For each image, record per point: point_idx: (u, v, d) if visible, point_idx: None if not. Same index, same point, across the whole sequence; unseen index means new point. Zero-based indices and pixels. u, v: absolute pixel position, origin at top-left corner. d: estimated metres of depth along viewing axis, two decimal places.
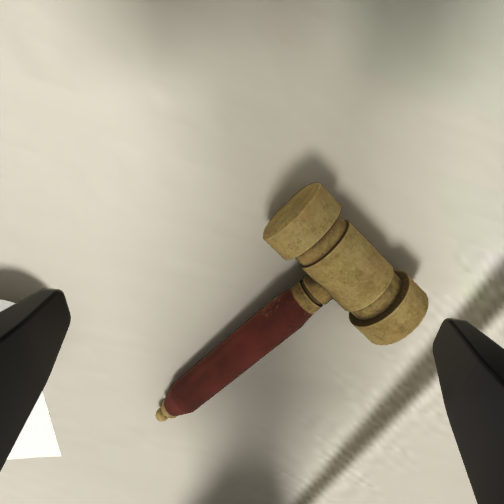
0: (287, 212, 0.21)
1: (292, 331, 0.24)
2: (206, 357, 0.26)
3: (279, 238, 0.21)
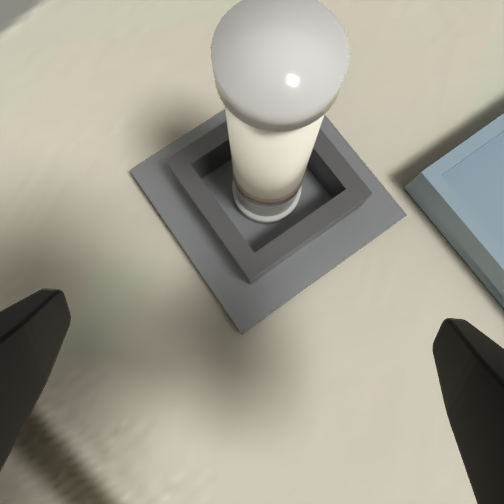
0: None
1: None
2: None
3: None
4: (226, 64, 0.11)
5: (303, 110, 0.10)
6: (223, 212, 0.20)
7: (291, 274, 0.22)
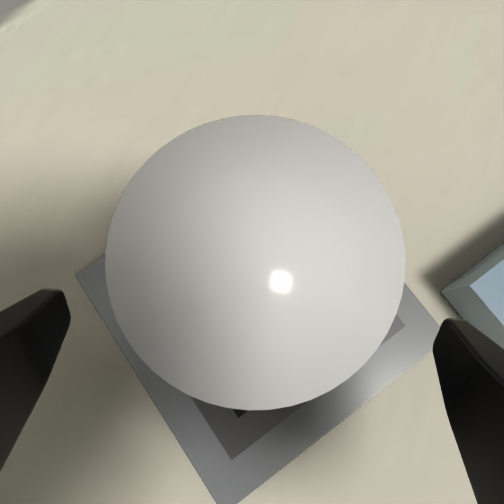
0: None
1: None
2: None
3: None
4: (137, 285, 0.05)
5: (306, 400, 0.05)
6: None
7: (291, 424, 0.16)
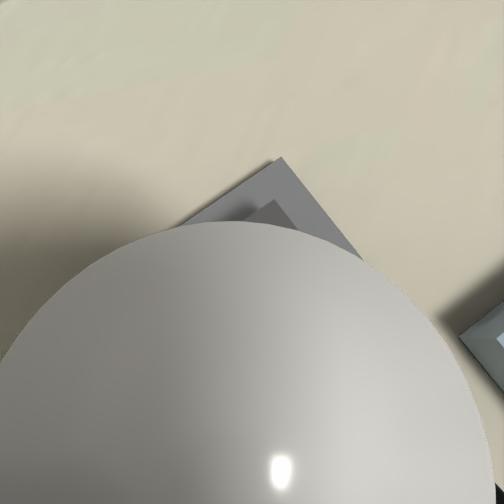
0: None
1: None
2: None
3: None
4: None
5: None
6: None
7: None
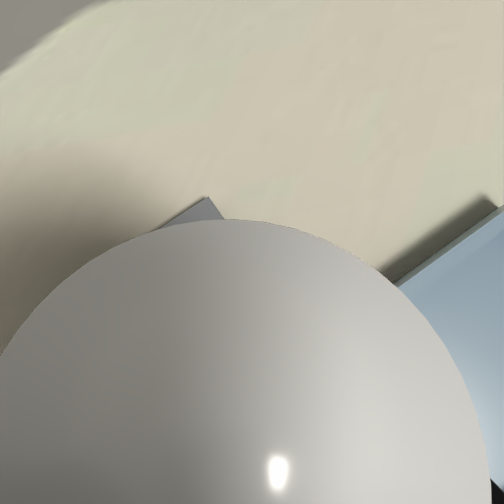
0: None
1: None
2: None
3: None
4: None
5: None
6: None
7: None
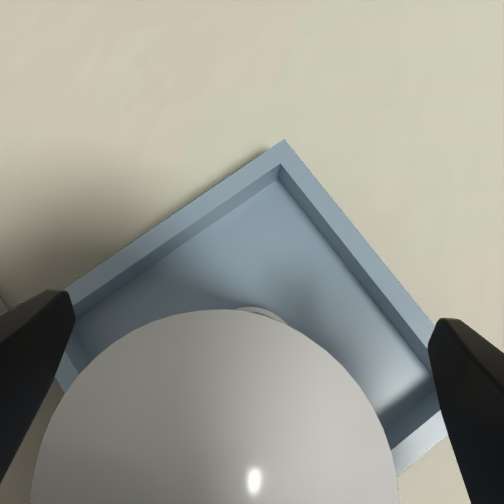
0: None
1: None
2: None
3: None
4: None
5: None
6: None
7: None
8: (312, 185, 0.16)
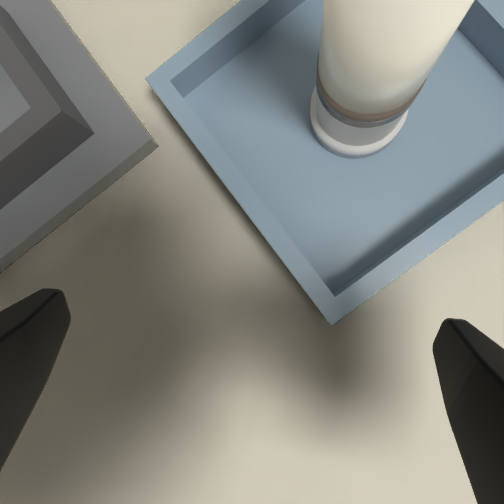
0: None
1: None
2: None
3: None
4: None
5: None
6: None
7: (14, 220, 0.18)
8: None
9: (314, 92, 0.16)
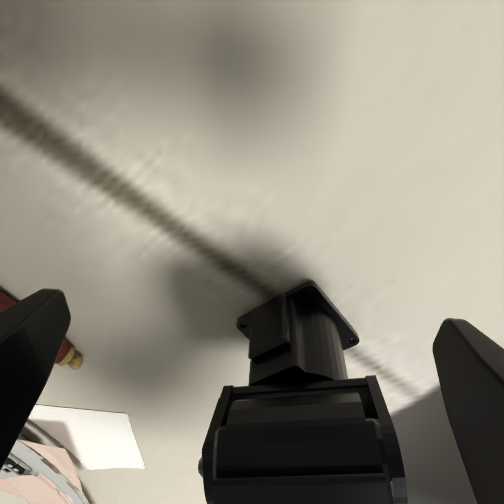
0: None
1: None
2: None
3: None
4: None
5: None
6: None
7: None
8: None
9: None
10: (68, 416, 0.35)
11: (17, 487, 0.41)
